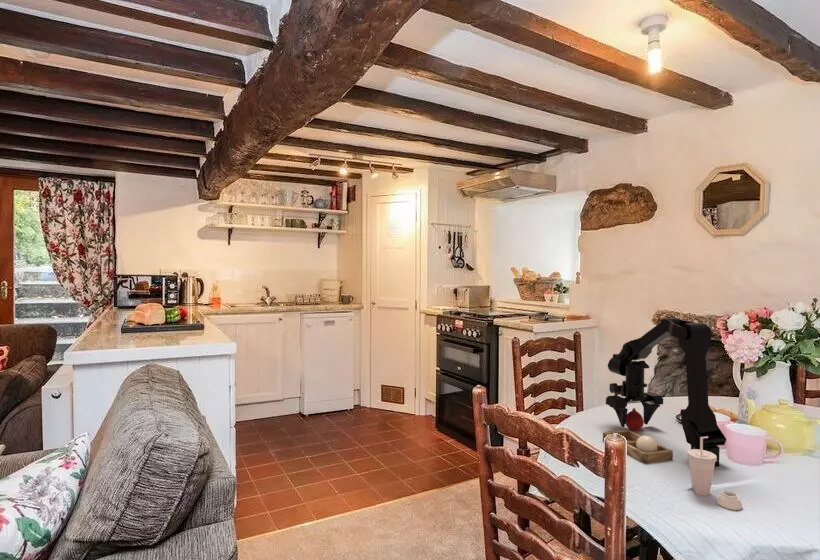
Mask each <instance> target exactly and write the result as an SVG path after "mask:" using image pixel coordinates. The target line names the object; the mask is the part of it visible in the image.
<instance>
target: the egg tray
mask: <svg viewBox="0 0 820 560" xmlns="http://www.w3.org/2000/svg"><path fill="white" fill-rule="evenodd" d="M613 433H618V434H620V435H622V436H624V437H625V438H626V440H627V454H626V455H628V456H630V457H632V458H634V459H636V460H637V461H639V462H641V463H642V464H652V463H659V462H665V461H666V462H667V461H673V457H674V456H673V455H674V451H673V450H672V449H670V448H667V447H665V446H663V445H661V444H659V443H657V451H656V452H648V453H645V452H643V451H641V450H639V449H637V447H636V441H637V439H638V438H639V437H641V436H642V435H641V434H639V433H636V432H634V431H633V430H630V429H623V430H615V431H605V432H602V441H603V442H605V441H604V438H605V437H606V436H607V435H609V434H613Z"/></svg>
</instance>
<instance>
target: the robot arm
mask: <svg viewBox="0 0 820 560" xmlns="http://www.w3.org/2000/svg"><path fill="white" fill-rule="evenodd" d="M712 335H713V332H712V329H711V327H710V326H709V325H708V324H706V323H705V322H693V321H689V320H685V319H684V320H683V319H680V318H677V317H665V318H663V319H661V321H659V323H658V324H656V325H655V326H654V327H652V328H651V329H650V330H648V331H647V332H646V333H645V334H643V335H642V336H641V337H637V338H635V339H631V340H630V341H629V340H628V341H627V342H625V343H624V344H623V345H622V348H621V350H620V352H619V353H613V354H612V357H611V358H609V361H608V363H607V368H608V371H610V373H613V374H615V375H616V374H617V375H619V376H621V377H622V376H623V377H625V380H622V383H621V385H618V383H617V382H614V383H613V382H612V383H609V392H610V394H614V395H607V397H606V398H605V404H606V406H609V407H610V408H611V409H613V411H615V413H616V416H617V419H618V421H619V424H620V426H621V427H622V428H624V427H626V424H625V422H626V416H627V414H628V410H629V409H628V408H627V407H628V405H629V404H637V403H641V405H642V407H643V408H642V409H643V421H644V424H643V425H648V423H649V422H650V420H651V419H652V417H653V416H654V414H655V413H656V411H657V410H658V408H661V405H664V397H663V396H662V395H660V394H658V393H657V392H656V393H655V392H652V391H649V392H645V388H647V387H648V384H647V383H645V369H650V365H649V364H648V363H647V362H646V361H645V359H647V358H648V357H649V356H650V354H652V351H653V348H654V347H656V346H657V345H659V344H660V343H661V342H663V341H664V340H665V339H667V338H669V337H670V336H672V337H673V338H677V341H678V345H679V347H680V349H681V350H682V351H683V353H684V355H685V367H686V368H685V369H686V371H685V372H686V384H687V385H686V388H687V400H688V401H687V402H688V404H687V406H686V408H683V409H682V408H681V409H680V412H679V413H680V424H681V425H682V426H681V427H682V431H683V433H684V437H685V441H686V443H687V444H690V449H700V437H703V450H705V451H709V452H711V453H713V454H715V455H716V456H717V461H716V462H715V466H714V468H717V467H720V451H721V450H720V448H721V447H720V446H725V445H726V442H727V441H728V440H727V437H726V436H725V434H724V433H723V432H722V430H721V428H720V427H719V426H718V422H717V417H716V414H715V412H714V411H713V409H711V407H710V404H709V391H708V389H709V388H708V376H707V375H708V373H707V362H706V361H707V359H706V356H707V352H708V351H709V349H710V347H711V345H712ZM619 395H620V396H619Z"/></svg>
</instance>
